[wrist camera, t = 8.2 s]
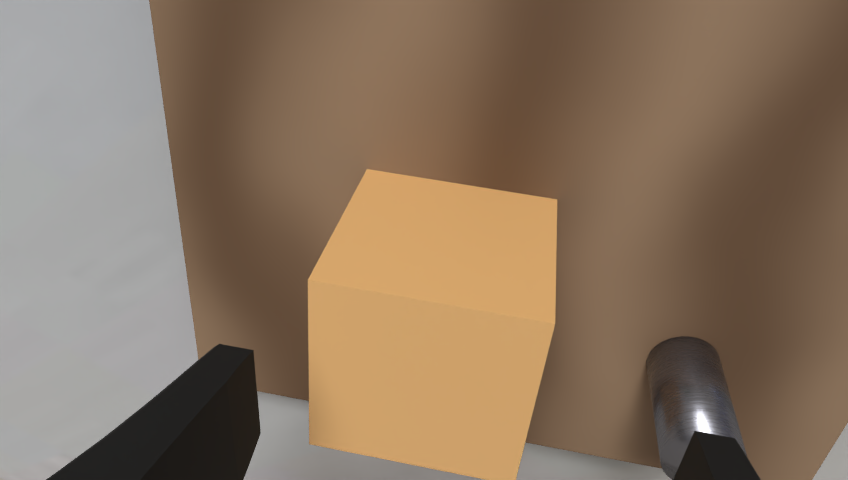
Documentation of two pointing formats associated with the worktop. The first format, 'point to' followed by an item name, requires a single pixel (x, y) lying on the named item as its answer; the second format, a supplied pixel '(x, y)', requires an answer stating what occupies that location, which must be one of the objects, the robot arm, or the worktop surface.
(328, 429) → the peach wooden cube
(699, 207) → the walnut board
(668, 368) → the dark post
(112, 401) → the worktop surface
